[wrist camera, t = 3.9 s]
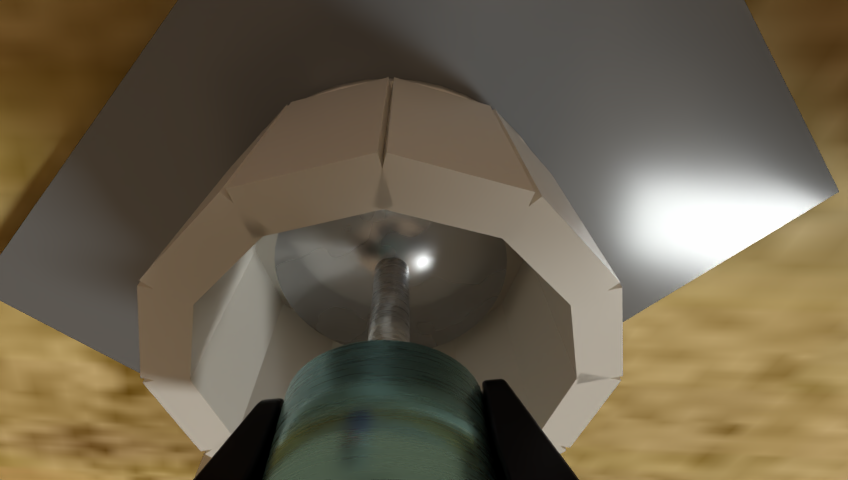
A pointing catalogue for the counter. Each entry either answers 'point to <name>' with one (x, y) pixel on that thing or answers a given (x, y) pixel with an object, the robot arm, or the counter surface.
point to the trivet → (459, 71)
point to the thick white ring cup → (362, 193)
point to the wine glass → (386, 350)
